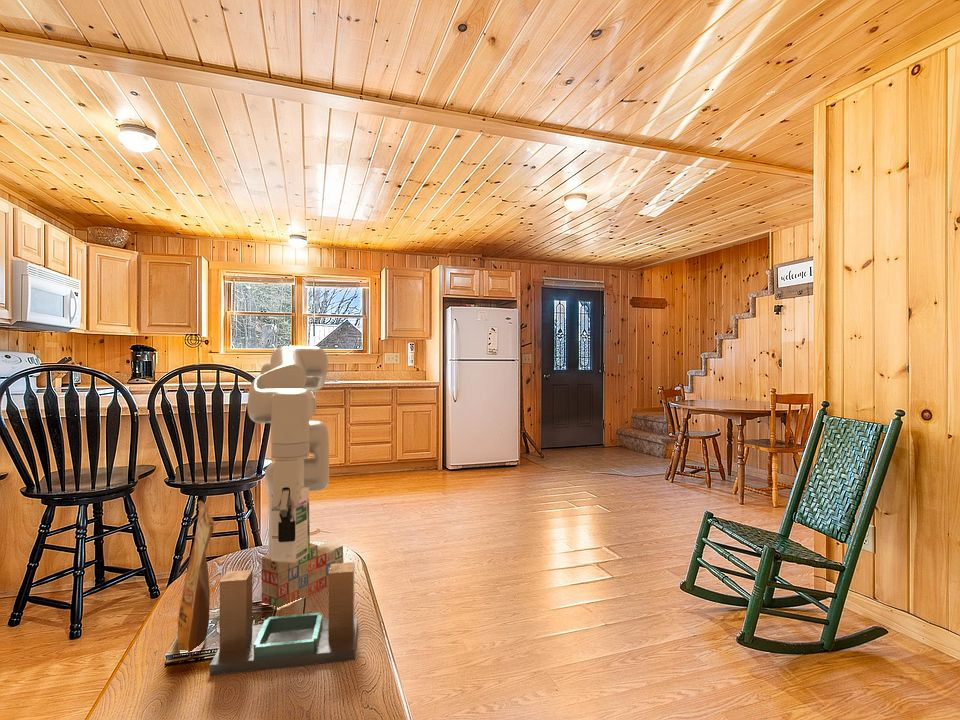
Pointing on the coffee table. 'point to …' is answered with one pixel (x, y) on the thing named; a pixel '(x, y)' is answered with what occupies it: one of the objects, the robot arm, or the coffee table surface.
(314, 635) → the grey and tan stand
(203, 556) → the pancake mix bag
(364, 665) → the coffee table surface
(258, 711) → the coffee table surface
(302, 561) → the stack of blocks
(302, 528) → the syrup box
